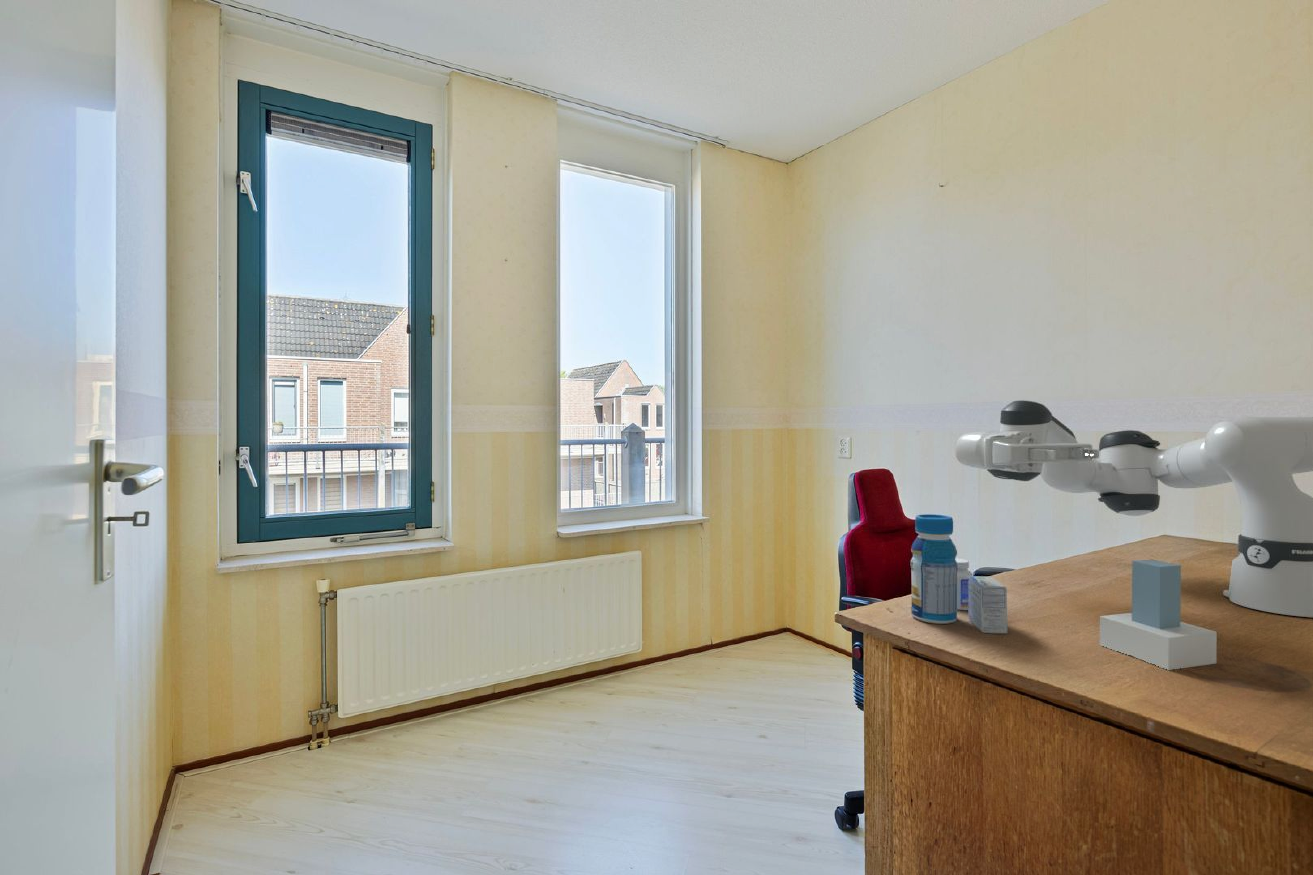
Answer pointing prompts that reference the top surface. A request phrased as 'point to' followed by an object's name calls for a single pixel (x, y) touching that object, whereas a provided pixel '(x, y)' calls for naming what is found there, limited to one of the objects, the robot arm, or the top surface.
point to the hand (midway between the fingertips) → (1077, 454)
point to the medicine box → (987, 604)
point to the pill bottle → (962, 584)
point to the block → (1156, 593)
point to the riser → (1159, 642)
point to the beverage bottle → (934, 570)
